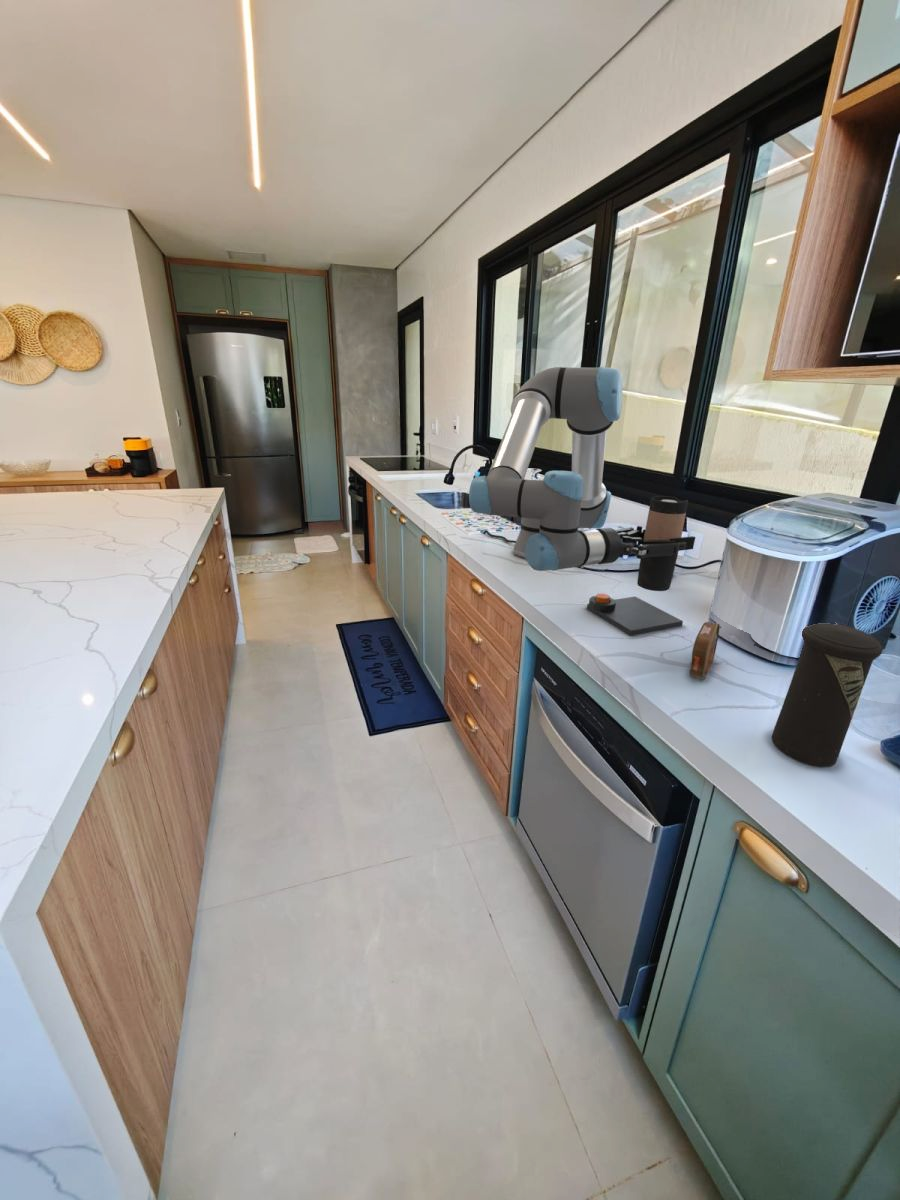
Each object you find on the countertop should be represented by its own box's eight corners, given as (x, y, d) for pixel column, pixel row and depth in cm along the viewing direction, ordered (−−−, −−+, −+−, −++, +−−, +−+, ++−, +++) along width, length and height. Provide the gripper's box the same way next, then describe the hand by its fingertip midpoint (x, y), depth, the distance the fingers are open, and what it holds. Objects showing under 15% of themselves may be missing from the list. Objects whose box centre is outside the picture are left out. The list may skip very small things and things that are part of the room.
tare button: (592, 600, 124) (593, 594, 123) (603, 598, 125) (604, 592, 124) (601, 605, 121) (602, 599, 120) (612, 603, 122) (612, 597, 121)
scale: (583, 608, 125) (584, 597, 124) (632, 600, 131) (634, 589, 130) (628, 636, 111) (630, 624, 110) (681, 626, 117) (684, 614, 116)
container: (824, 777, 71) (873, 653, 63) (758, 743, 78) (794, 627, 70) (847, 754, 76) (895, 635, 68) (782, 724, 83) (820, 613, 75)
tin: (701, 687, 92) (711, 646, 89) (683, 681, 94) (692, 641, 91) (715, 655, 104) (724, 618, 101) (699, 651, 106) (707, 614, 102)
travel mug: (635, 589, 114) (651, 500, 106) (635, 578, 121) (650, 494, 113) (672, 593, 112) (690, 504, 104) (669, 582, 118) (687, 497, 111)
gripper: (565, 550, 116) (644, 542, 124) (625, 579, 98) (711, 567, 107) (569, 518, 113) (649, 512, 121) (631, 542, 96) (719, 532, 104)
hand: (678, 537), depth 114 cm, fingers closed on travel mug, 7 cm apart
